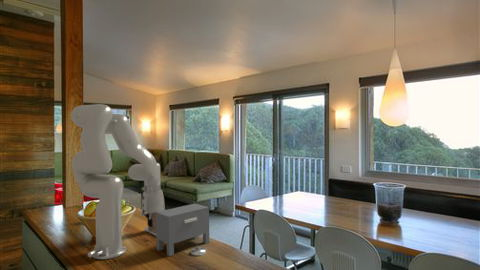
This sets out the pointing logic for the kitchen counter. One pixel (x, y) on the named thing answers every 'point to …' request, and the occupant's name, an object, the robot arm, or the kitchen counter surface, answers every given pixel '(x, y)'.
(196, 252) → the token
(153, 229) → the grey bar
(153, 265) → the kitchen counter surface
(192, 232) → the cabinet
